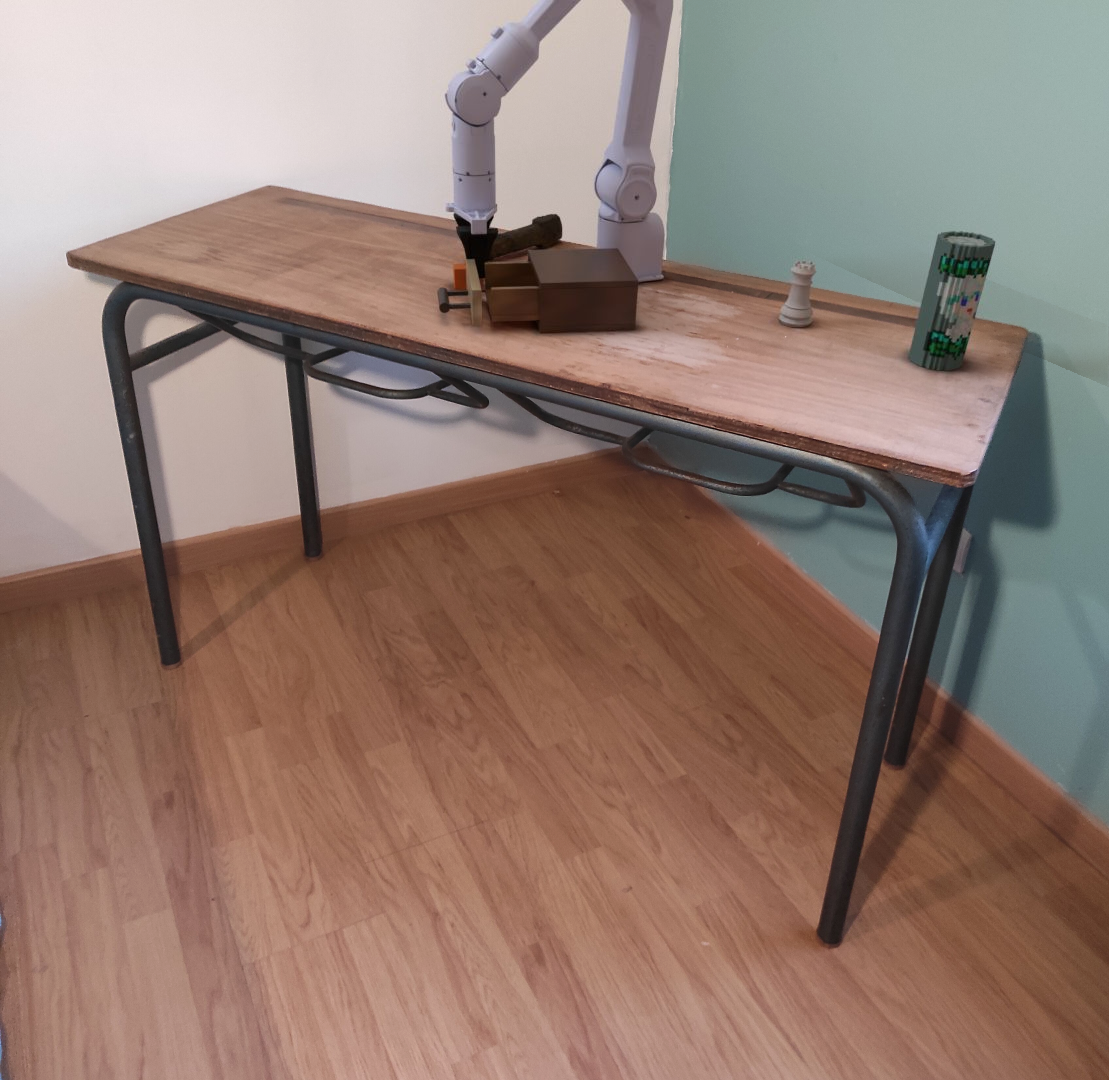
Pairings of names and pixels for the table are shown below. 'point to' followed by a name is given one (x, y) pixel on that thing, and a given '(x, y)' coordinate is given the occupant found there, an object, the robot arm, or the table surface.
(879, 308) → the table surface
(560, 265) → the cabinet
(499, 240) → the hand tool
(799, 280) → the rook chess piece
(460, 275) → the block
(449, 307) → the drawer
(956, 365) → the can
